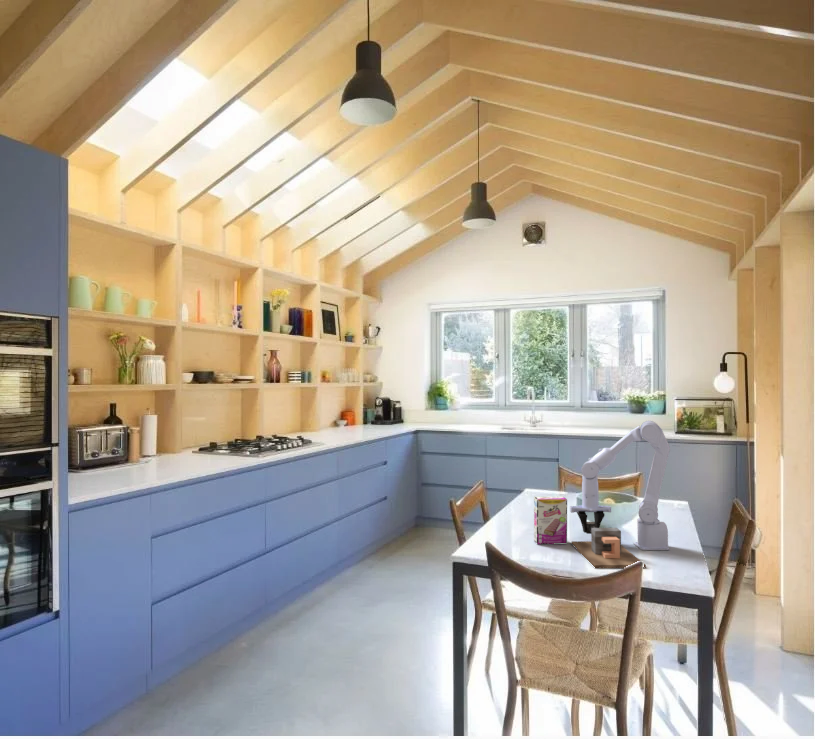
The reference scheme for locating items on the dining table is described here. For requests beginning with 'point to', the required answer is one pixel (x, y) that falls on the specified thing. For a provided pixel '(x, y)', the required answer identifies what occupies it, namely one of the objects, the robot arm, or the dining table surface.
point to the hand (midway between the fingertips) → (590, 532)
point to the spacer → (612, 547)
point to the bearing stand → (604, 549)
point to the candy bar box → (550, 520)
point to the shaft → (591, 525)
